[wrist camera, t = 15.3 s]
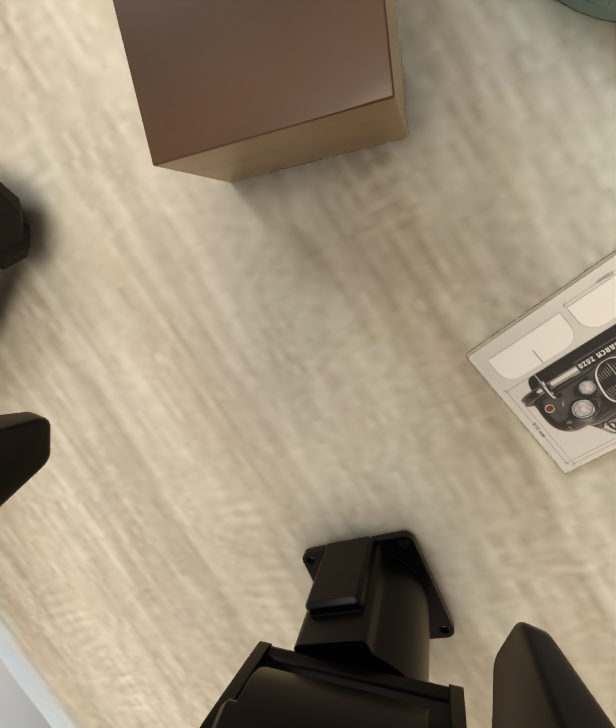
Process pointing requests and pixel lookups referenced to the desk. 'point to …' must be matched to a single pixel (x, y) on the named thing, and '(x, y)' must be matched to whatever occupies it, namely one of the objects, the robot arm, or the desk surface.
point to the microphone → (12, 229)
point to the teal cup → (594, 8)
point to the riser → (263, 81)
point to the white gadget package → (561, 368)
